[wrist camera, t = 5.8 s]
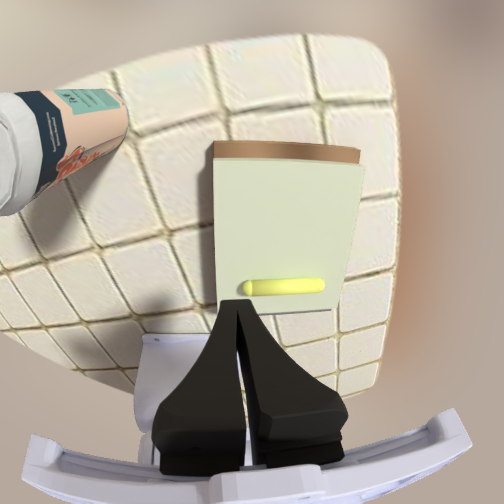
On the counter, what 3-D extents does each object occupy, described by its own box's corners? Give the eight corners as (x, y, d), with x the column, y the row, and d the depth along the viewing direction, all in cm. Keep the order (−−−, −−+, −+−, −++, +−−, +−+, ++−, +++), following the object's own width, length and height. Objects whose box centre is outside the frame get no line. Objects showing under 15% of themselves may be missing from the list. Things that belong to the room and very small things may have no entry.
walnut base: (218, 307, 25) (218, 315, 24) (214, 140, 18) (213, 142, 17) (327, 301, 26) (330, 308, 25) (354, 147, 19) (360, 150, 18)
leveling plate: (217, 311, 24) (218, 329, 22) (213, 158, 18) (212, 165, 16) (332, 305, 25) (340, 321, 23) (358, 163, 19) (373, 171, 17)
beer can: (69, 153, 17) (-46, 222, 7) (74, 89, 15) (-53, 105, 4) (127, 156, 18) (31, 233, 7) (135, 89, 16) (29, 85, 5)
